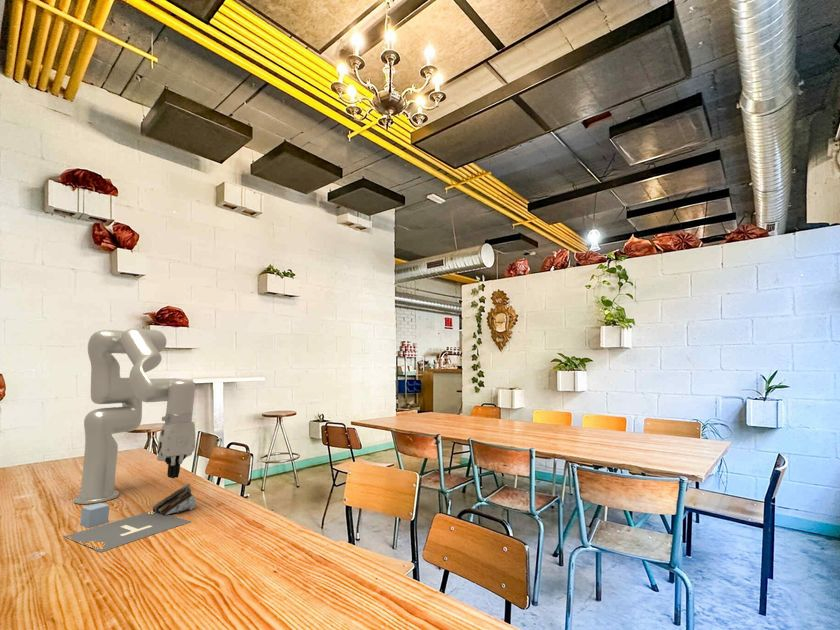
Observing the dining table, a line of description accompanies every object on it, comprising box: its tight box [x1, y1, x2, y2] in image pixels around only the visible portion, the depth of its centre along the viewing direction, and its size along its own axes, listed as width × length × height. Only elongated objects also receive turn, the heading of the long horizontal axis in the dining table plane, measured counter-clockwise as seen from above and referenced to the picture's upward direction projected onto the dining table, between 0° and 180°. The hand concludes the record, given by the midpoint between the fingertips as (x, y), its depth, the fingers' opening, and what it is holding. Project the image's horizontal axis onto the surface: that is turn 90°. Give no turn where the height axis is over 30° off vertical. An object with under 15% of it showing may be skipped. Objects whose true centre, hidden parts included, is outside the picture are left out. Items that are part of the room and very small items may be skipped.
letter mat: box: [63, 511, 192, 553], centre depth 120 cm, size 20×24×1 cm
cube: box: [79, 502, 111, 529], centre depth 124 cm, size 5×5×5 cm
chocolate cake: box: [152, 483, 196, 515], centre depth 135 cm, size 10×7×12 cm
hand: (173, 477), depth 132 cm, fingers closed
